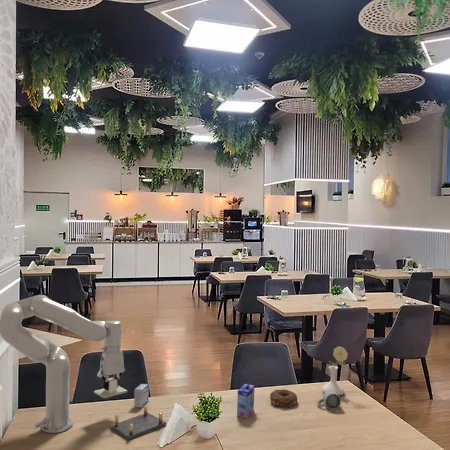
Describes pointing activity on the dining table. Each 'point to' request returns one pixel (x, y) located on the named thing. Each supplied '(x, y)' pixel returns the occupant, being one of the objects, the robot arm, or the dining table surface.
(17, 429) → the dining table surface
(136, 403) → the medicine box
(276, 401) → the donut
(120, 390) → the sage board
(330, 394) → the ceramic mug
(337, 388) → the flower in vase
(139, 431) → the chassis plate
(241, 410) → the ink cartridge box
